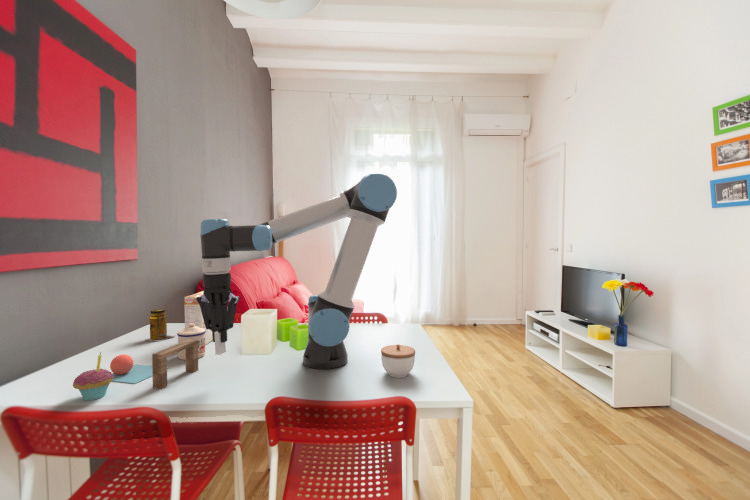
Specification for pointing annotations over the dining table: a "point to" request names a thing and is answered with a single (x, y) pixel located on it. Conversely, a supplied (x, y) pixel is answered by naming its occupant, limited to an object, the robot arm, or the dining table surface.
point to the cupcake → (93, 382)
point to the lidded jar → (398, 360)
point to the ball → (121, 364)
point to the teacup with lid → (193, 334)
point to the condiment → (158, 325)
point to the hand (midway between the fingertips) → (220, 353)
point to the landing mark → (134, 374)
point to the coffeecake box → (196, 315)
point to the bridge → (161, 361)
